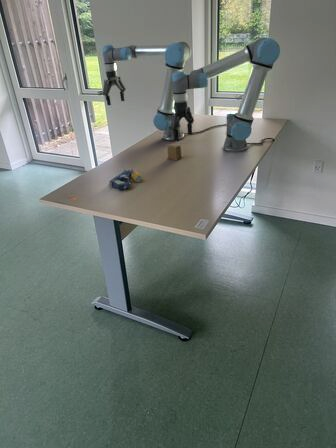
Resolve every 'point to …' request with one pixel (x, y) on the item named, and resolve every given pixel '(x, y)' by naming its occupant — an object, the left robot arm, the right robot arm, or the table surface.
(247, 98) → the right robot arm
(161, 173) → the table surface
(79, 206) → the table surface
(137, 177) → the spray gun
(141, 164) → the table surface
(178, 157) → the block
